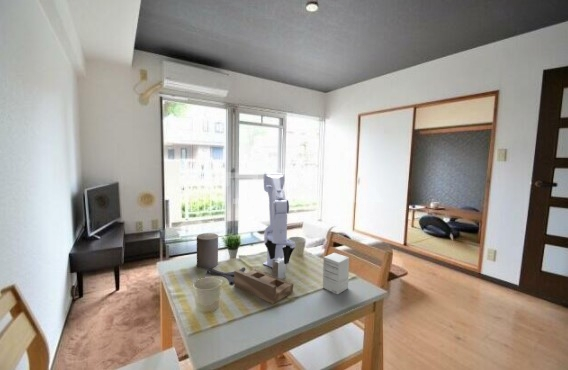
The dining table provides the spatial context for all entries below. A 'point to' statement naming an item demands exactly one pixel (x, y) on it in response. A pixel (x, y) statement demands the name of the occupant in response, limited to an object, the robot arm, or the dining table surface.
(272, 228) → the robot arm
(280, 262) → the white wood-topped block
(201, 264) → the pillar candle
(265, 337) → the dining table surface
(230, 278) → the bracket
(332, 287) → the supplement box
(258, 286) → the brown holed block
